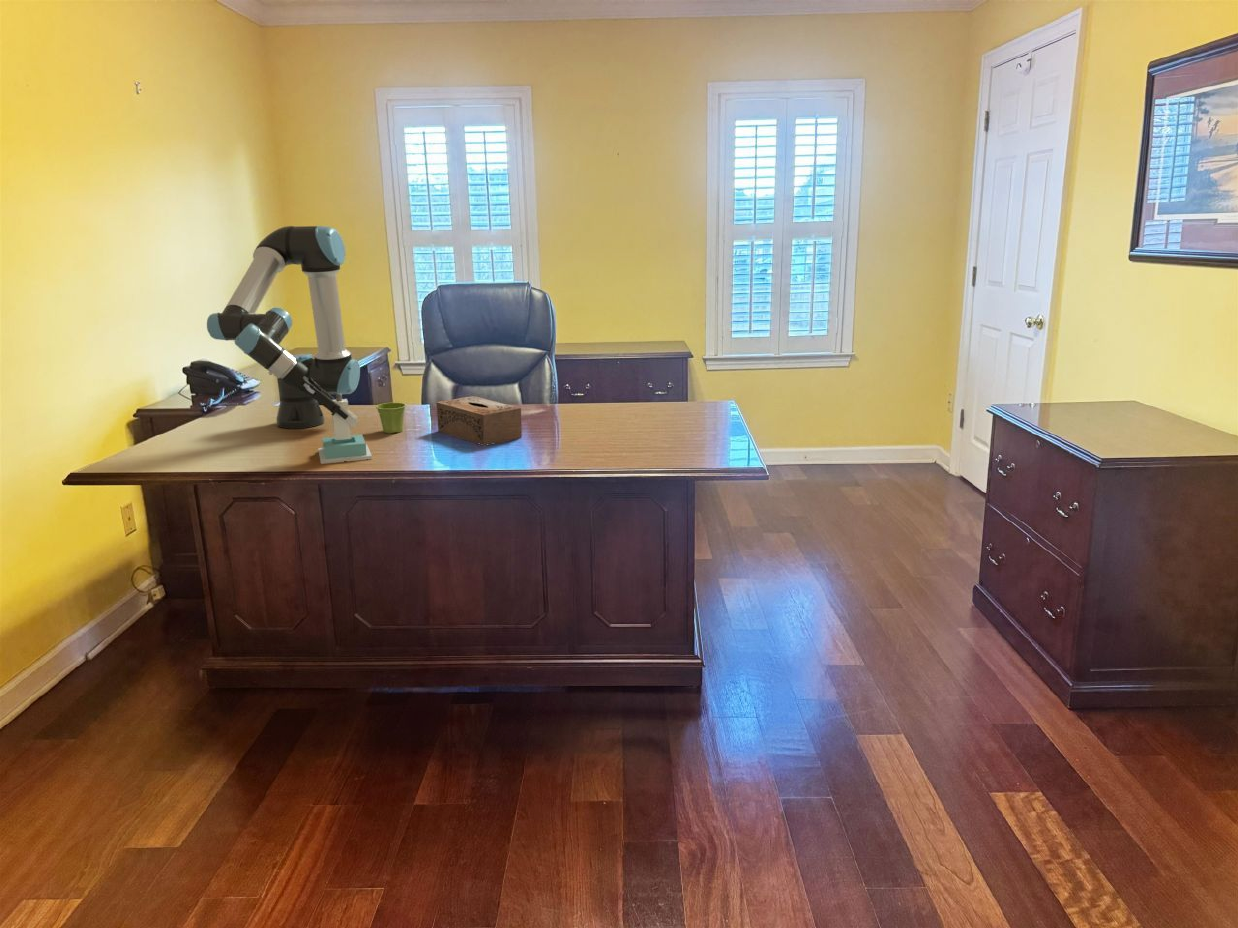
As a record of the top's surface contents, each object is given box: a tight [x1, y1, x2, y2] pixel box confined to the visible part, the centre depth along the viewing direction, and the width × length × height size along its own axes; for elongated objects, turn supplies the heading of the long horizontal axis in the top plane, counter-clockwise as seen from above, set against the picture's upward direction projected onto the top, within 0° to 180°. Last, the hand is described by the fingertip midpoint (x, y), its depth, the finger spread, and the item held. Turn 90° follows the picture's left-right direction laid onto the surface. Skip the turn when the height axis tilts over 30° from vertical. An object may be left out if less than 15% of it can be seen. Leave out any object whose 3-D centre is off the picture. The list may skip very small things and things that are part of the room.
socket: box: [317, 434, 373, 465], centre depth 243 cm, size 14×14×4 cm
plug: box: [331, 393, 352, 440], centre depth 240 cm, size 4×4×13 cm
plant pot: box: [375, 402, 407, 434], centre depth 270 cm, size 9×9×9 cm
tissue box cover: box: [436, 395, 523, 446], centre depth 267 cm, size 26×14×10 cm, turn 45°
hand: (354, 422), depth 242 cm, fingers closed on plug, 4 cm apart
